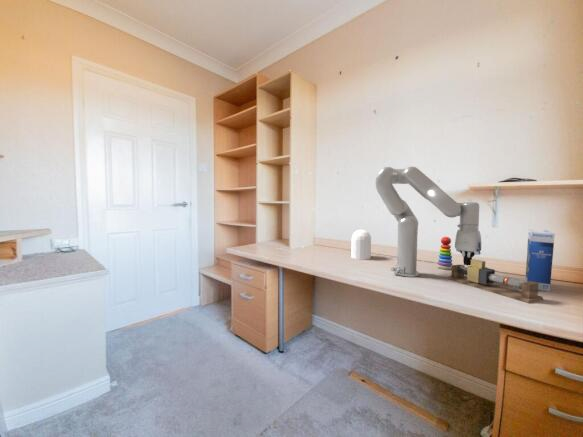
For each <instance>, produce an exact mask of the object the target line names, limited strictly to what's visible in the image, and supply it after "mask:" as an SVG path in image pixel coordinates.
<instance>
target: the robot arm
mask: <svg viewBox="0 0 583 437" xmlns="http://www.w3.org/2000/svg"><path fill="white" fill-rule="evenodd" d="M400 184H401V185H406V184H407V185H409V187H410V186H411V187H412V189H414V190H415V191H416V192H417V193H418V194H420V196H421V197H423V198H424V199H425V200H427V201H429V202H430V203H431V204H432V205H433V206H434V207H436V209H438V210H439V211H440V212H441V213H442V214H443V215H444V216H445V217H447V218H456V217H459V223H458V224H457V228H459V229H457V232H456V234H455V239H454V240H455V242H454V249H456V252H459V253H460V254H461V256H462V257H463V260H462V261H463V265H464V266H467V267H468V266H471V259H473V257H474V256H476V255H477V256H478V255H479V256H480V255H481V254H482V253H481V251H482V235H481V231H480V230H479V225H480V224H479V222H480V204H479V203H478V202H473V201H471V202H470V201H469V202H457V201H456V200H454V199H453V198H452V197H451V196H450V195H449V194H448V193H446V192H445V191H444V190H443V189H442V188H440V186H439V185H438V184H436V183H435V182H434V181H433V180H432V179H431V178H430V177H428V176H427V175H426V174H425V173H424V172H422V171H421V170H420V169H419V168H418V167H416V166H409V167H406V168H393V167H391V166H385V167H383V168H382V169H380V170H379V171H378V173H377V176H376V177H375V189H376V191H377V192H378V195H379V196H380V198H381V200H382V201H383V204H384V205H385V206H386V208H387V210H388V212H389V213H390V214H391V215H392V216H394V218H395V220H396V222H397V258H396V260H397V261H396V262H397V264H396V265H395V267H390V271H391V272H393V273H394V274H396V275H398V276H402V277H409V278H413V277H414V278H415V277H419V276H420V272H419V271H418V270H417V268H418V267H417V261H418V230H419V220H418V218H417V217H416V215H415V214H414V212H413V211H412V209H411V208H410V206H409V204H408V203H407V202H406V200H404V199H402V198H401V196H400V194H399V193H398V191H397V190H396V188H395V186H394V185H400Z"/></svg>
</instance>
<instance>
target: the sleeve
mask: <svg viewBox="0 0 583 437" xmlns="http://www.w3.org/2000/svg"><path fill="white" fill-rule="evenodd" d="M467 268H468V270H467V275H466V276H467V280H469V281H472V282H476V283H478V282H479V269H485V268H488V267H486V260H480V259H475V258H472V259H471V265H468V266H467Z"/></svg>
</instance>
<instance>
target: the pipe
mask: <svg viewBox="0 0 583 437" xmlns="http://www.w3.org/2000/svg"><path fill="white" fill-rule="evenodd" d="M467 270H468V266H467V267H462V266H460V267H459V268H458V272H459V273H461V274H464V276H467ZM487 281H491V282H494V284H498V285H499V284H500V285H501V286H504V287H508V288H513V289H517V290H520V291H522V283H524V282H526V281H525V280H520V279H518V278H517V279H516V278H512V277H509V276H504V275H500V274H496V273H495V274H492V273H487Z"/></svg>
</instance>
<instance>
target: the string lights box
mask: <svg viewBox="0 0 583 437" xmlns="http://www.w3.org/2000/svg"><path fill="white" fill-rule="evenodd" d="M555 235H556V234H555V233H553V232H552V231H551V230H548V229H547V230H546V229H528V235H527V236H528V237H527V247H526V250H527V251H526V263H525V264H526V265H525V278H524V281H526V282H528V281H533V282H537V283H538V291H542V292H543V291H544V292H549V293H550V292H551V282H552V268H553V257H554V249H555V248H554V247H555V246H554V244H555Z"/></svg>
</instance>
